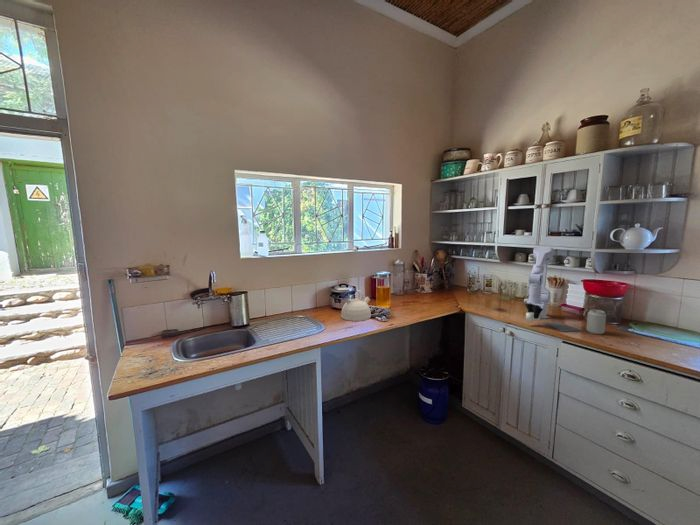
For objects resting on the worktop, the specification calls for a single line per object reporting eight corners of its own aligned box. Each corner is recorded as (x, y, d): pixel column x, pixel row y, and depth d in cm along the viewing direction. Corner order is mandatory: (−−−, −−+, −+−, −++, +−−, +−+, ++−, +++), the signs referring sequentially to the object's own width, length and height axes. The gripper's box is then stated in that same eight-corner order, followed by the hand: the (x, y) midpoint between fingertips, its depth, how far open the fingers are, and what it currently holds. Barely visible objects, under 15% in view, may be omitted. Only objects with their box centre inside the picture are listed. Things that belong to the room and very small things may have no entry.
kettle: (376, 318, 185) (376, 291, 182) (347, 323, 177) (346, 294, 175) (364, 310, 203) (363, 285, 201) (336, 314, 196) (335, 288, 194)
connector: (528, 321, 163) (528, 314, 163) (524, 319, 167) (524, 312, 166) (543, 320, 164) (544, 313, 164) (539, 318, 167) (539, 311, 167)
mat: (543, 323, 168) (543, 322, 168) (558, 322, 169) (559, 321, 169) (563, 331, 154) (563, 331, 154) (579, 330, 155) (580, 330, 155)
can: (584, 329, 158) (586, 308, 157) (602, 331, 154) (604, 309, 153) (587, 333, 152) (589, 311, 150) (606, 335, 148) (608, 313, 146)
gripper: (519, 291, 170) (518, 313, 172) (537, 297, 156) (536, 321, 158) (530, 291, 171) (529, 313, 173) (549, 297, 156) (548, 321, 158)
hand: (533, 317), depth 165 cm, fingers closed on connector, 3 cm apart
